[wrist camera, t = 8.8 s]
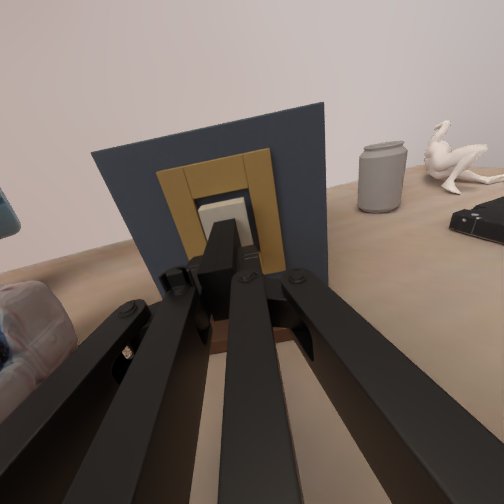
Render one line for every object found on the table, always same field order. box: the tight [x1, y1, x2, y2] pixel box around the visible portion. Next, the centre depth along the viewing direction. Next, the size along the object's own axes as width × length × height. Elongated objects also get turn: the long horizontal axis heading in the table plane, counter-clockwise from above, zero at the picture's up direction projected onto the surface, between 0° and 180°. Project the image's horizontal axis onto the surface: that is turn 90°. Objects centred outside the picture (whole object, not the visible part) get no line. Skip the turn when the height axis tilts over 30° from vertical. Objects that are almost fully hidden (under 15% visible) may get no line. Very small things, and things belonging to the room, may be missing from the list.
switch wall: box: [91, 102, 329, 354], centre depth 21 cm, size 12×16×18 cm
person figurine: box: [424, 120, 504, 194], centre depth 47 cm, size 13×13×18 cm
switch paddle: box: [198, 197, 253, 246], centre depth 16 cm, size 1×3×4 cm, turn 94°
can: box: [357, 141, 407, 213], centre depth 40 cm, size 8×8×12 cm
